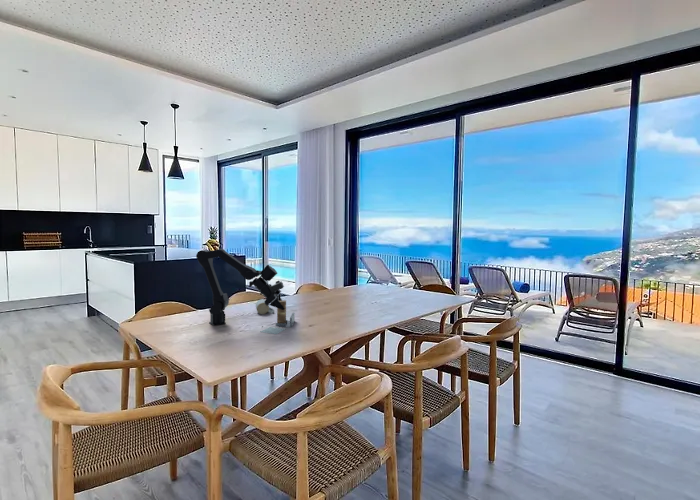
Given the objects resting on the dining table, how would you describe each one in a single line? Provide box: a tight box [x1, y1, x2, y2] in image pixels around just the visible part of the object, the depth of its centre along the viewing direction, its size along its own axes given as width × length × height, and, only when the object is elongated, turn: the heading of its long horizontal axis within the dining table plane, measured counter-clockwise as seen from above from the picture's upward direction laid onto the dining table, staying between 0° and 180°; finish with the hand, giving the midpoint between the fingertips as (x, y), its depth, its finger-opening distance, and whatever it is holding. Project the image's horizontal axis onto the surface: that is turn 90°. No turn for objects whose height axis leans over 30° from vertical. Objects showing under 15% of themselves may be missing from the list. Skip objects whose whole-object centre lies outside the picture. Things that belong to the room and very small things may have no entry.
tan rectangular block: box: [276, 299, 287, 323], centre depth 193 cm, size 4×4×12 cm
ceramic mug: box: [255, 298, 275, 315], centre depth 217 cm, size 11×8×8 cm
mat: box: [260, 326, 286, 335], centre depth 181 cm, size 9×9×1 cm
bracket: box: [275, 312, 296, 328], centre depth 193 cm, size 8×12×5 cm
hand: (284, 308), depth 193 cm, fingers open, 4 cm apart
